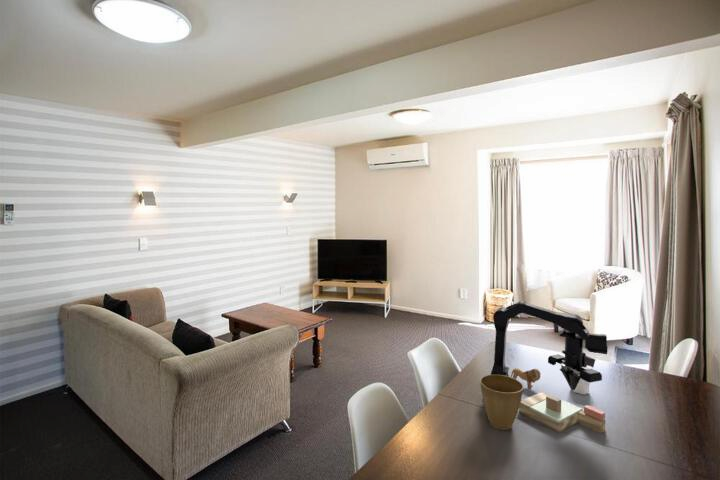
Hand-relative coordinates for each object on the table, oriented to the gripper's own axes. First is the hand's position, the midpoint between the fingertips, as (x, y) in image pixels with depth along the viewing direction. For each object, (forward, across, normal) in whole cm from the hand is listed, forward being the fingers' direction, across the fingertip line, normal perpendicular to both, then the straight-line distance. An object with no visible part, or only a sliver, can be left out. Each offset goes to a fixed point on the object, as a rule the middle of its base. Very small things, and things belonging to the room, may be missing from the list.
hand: (572, 389), depth 133 cm
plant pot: (+12, +6, +27) cm, 30 cm away
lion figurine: (+12, +29, -4) cm, 31 cm away
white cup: (+12, +16, -22) cm, 30 cm away
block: (+7, -7, -3) cm, 10 cm away
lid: (+8, +2, +5) cm, 10 cm away
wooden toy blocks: (+12, +1, +5) cm, 13 cm away
